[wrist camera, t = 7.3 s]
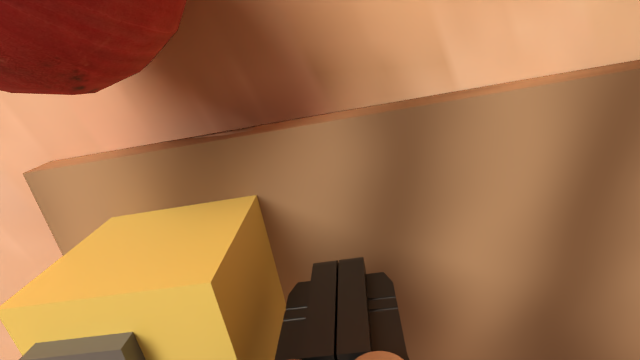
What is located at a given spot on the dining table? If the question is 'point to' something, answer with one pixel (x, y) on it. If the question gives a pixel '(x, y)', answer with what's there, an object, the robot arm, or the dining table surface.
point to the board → (425, 208)
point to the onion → (80, 42)
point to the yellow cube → (157, 290)
